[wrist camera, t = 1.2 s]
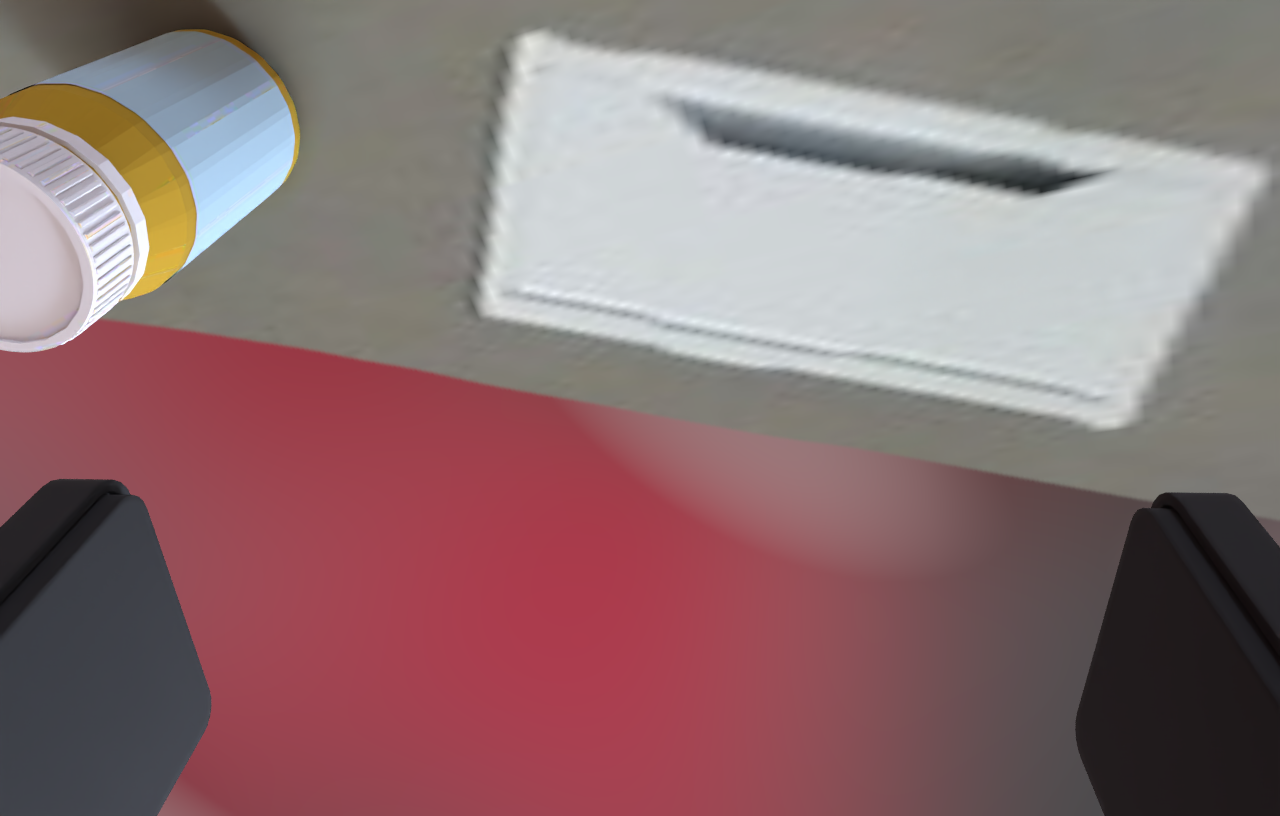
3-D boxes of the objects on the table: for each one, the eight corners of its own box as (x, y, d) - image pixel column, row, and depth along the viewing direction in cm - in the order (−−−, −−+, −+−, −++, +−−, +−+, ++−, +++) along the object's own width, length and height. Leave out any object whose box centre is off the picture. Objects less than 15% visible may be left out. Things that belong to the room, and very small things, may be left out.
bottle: (135, 169, 41) (-129, 327, 29) (138, 1, 38) (-162, 95, 25) (296, 218, 42) (110, 393, 29) (315, 57, 38) (110, 177, 26)
